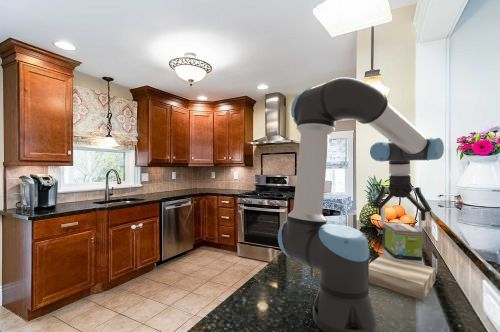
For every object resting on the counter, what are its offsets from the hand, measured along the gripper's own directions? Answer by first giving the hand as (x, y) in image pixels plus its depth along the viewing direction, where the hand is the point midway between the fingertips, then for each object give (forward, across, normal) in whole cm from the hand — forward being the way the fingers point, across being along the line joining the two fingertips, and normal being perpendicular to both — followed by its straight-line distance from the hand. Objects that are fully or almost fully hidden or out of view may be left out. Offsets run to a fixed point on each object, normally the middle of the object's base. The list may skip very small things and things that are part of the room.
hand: (401, 226), depth 101 cm
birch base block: (+14, -5, +21) cm, 26 cm away
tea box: (+15, 0, +1) cm, 15 cm away
